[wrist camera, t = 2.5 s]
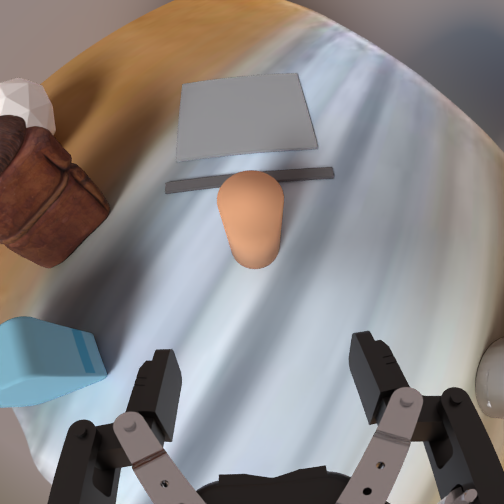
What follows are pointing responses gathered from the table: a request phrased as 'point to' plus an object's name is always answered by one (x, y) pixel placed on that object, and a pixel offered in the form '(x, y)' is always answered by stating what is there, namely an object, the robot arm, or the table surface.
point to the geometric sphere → (27, 103)
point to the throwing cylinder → (252, 217)
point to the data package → (45, 361)
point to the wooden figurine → (43, 195)
